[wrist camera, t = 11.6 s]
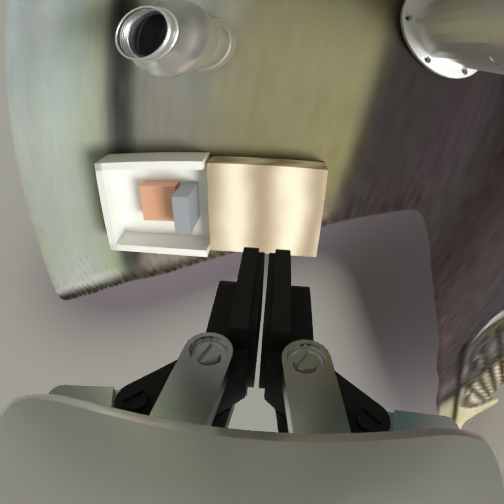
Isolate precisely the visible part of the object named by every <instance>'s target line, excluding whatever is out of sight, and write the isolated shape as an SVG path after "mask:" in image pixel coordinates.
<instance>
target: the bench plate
mask: <svg viewBox="0 0 504 504" xmlns="http://www.w3.org/2000/svg"><path fill="white" fill-rule="evenodd" d="M327 174H328V169H327V166H326V164H325V162H315V161H303V160H290V159H275V158H257V157H233V156H212V157H211V158H210V159H209V161H208V162H207V184H208V209H209V231H210V250H221V251H236V252H243V250H244V247H253V248H259V252H265V254H269V253H275V250H276V249H282V250H290V251H291V255H294V256H309V257H316V254H317V248H318V241H319V234H320V227H321V220H322V213H323V206H324V198H325V190H326V182H327Z"/></svg>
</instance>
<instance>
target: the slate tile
mask: <svg viewBox="0 0 504 504" xmlns="http://www.w3.org/2000/svg"><path fill="white" fill-rule="evenodd" d="M172 206H173V216H174V225H175V234H187V235H191V233H192V231H193V229H194V227H195V225H196V223H197V221H198V219H199V217H200V207H199V188H198V182H187V181H183V183H182V184H181V185H180V186H179V188H178V189H177V190H176V192H175V193H174V194H173V196H172Z"/></svg>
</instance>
